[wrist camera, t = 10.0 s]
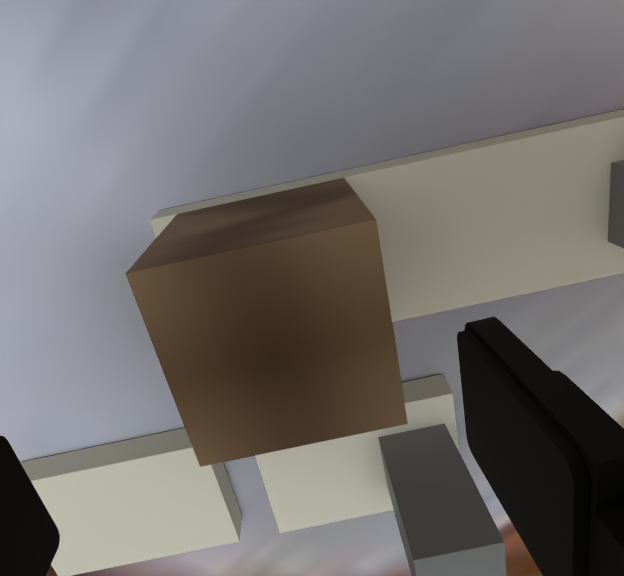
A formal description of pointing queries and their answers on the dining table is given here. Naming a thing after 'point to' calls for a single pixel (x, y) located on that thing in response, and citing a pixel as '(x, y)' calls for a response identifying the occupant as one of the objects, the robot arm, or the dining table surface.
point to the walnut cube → (273, 321)
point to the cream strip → (488, 214)
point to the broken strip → (275, 493)
